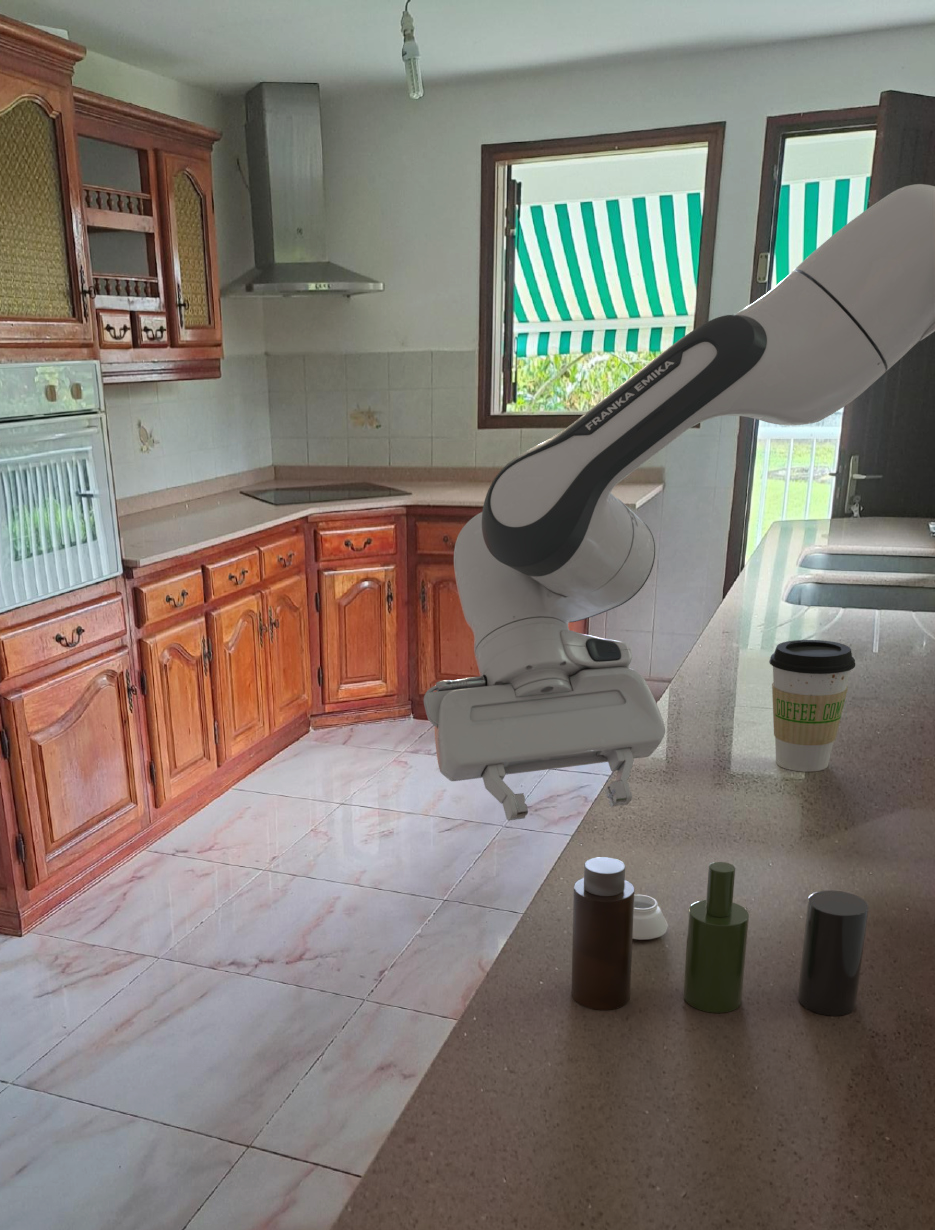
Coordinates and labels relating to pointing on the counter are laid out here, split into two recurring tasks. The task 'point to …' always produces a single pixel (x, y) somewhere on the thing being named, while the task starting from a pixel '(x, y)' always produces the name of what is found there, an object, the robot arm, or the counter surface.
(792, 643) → the coffee cup
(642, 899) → the white jar
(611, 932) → the pepper mill
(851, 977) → the dark grey cylinder
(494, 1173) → the counter surface
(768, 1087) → the counter surface
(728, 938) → the oil cruet
